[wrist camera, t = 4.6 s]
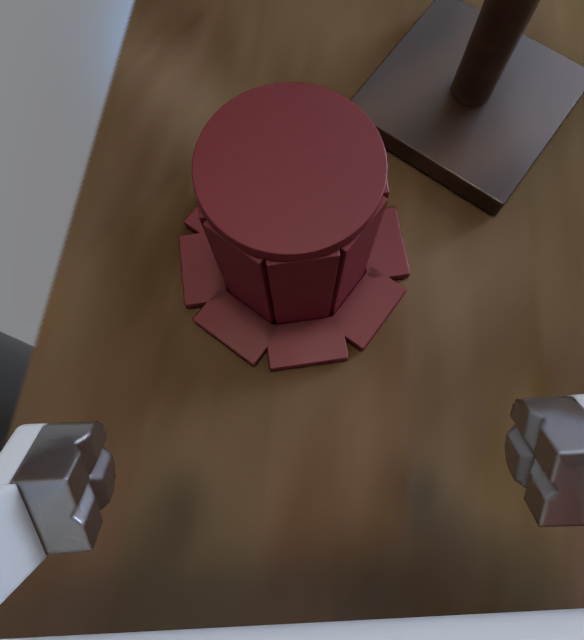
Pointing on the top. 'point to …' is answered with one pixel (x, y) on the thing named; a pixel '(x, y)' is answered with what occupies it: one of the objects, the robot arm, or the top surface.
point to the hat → (292, 227)
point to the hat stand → (471, 97)
